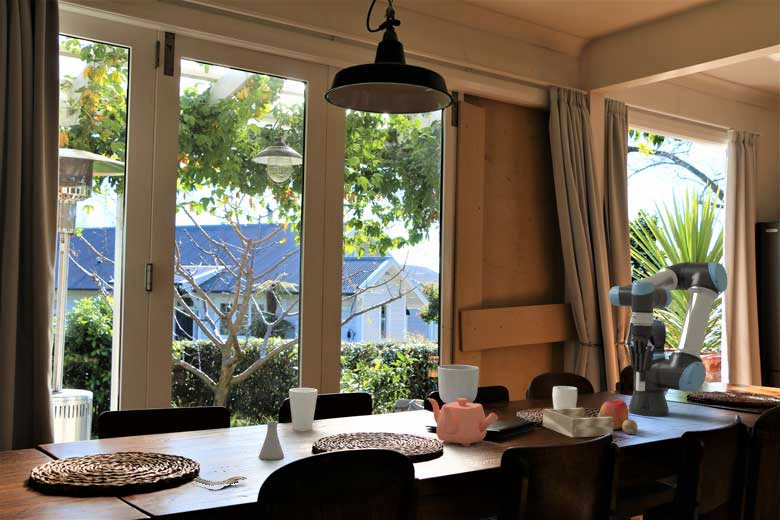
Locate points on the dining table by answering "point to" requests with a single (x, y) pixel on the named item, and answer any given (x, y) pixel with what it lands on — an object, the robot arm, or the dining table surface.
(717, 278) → the robot arm
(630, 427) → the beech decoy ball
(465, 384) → the planter
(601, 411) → the apple
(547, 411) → the beige shallow open box
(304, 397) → the foam cup
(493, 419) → the teapot
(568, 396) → the cup
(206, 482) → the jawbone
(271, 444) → the flask
